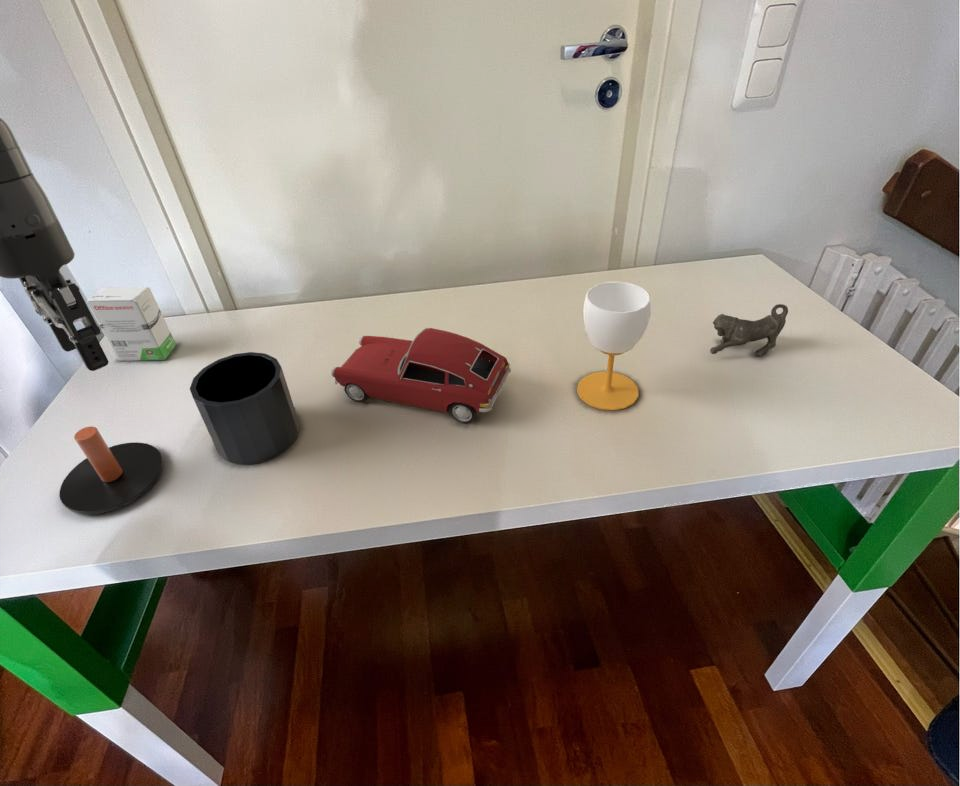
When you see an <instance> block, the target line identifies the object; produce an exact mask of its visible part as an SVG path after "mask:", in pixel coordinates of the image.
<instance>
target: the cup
mask: <svg viewBox="0 0 960 786" xmlns="http://www.w3.org/2000/svg"><path fill="white" fill-rule="evenodd" d="M582 311H583V312H582V313H583V325H584V329H585V330H584V331H585V333H586V336H587V337H588V339H589V341H590V343H591V345H592V346H593V347H594V348H595V349H596V350H598V351H599V352H601V353H602V354H604V355H608V358H607V367H606V371H598V372H591V373H590V374H588V375H586V376H584V377H582V378H581V380H580V381H579V382H578V383H577V390H576V392H577V395H578V396H579V398H580V400H581V401H582V402H584V403H585V404H586V405H588V406H590V407H592V408H595V409H598V410H601V411H613V412H614V411H619V410H625V409H626V408H628V407H630V406H632V405H634V404H635V403H636V402H637V400H638V398H639V394H640V393H639V387H638V386H637V384H636V383H635V381H634V380H632V379H630V378H629V377H627V376H626V375H623V374H620V373H618V372H614V366H615V365H614V362H615V356H621V355H623V354H625V353H628V352H630V351H631V350H633V349H634V348H635V347H636V345H637V344H638V343H639V342H640V340H641V339H642V338H643V336H644V335H645V332H646V330H647V328H648V327H649V322H650V318H651V313H652V312H651V294H649V293H648V291H647V290H646V289H645V288H644V287H641V286H639V285H637V284H635V283H631V282H626V281H614V280H613V281H612V280H611V281H605V282H601V283H598V284H596V285H593V286H591V287H590V288H589V289H588V290H587V291H586V294H585V298H584V302H583V310H582Z"/></svg>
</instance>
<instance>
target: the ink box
mask: <svg viewBox="0 0 960 786" xmlns="http://www.w3.org/2000/svg"><path fill="white" fill-rule="evenodd" d="M86 305H87V307H88V309H89V311H90V312H91V314H92V316H93V318H94V320H95V321H96V323H97V325H98V327H99V328H100V331H102V333H103V336H104V338H106V341H107V343H108V344H109V346H110V348H111V350H112V352H113V354H114V355H115V357H116V359H117V361H118V362H123V361H124V362H125V361H131V362H133V361H164V360H165V361H166V359H167V358H168V357H169V356H170V355H171V353H172V352H173V350H174V349H175V348H176V346H177V343H176V340H175V339H174V337H173V335H172V332H171V330H170V328H169V326H168V323H167V321H166V319H165V317H164V316H163V313H162V311H161V309H160V307H159V305H158V302H157V300H156V298H155V295H154V294H153V291H152V289H151V287H150V286H103V287H101V288H100V289H99V290H97V292H95V293H94V294H93V295H92V296H90V297H89V298H88V299H87V301H86Z"/></svg>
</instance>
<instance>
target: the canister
mask: <svg viewBox="0 0 960 786" xmlns="http://www.w3.org/2000/svg"><path fill="white" fill-rule="evenodd" d="M282 367H283V366H282V365H281V364H280V362H279V361H278V359H277V358H275V357H273V356H272V355H270V354H267V353H263V352H255V351H248V352H239V353H233V354H231V355H227V356H225V357H224V356H223V357H222V358H219V359H217V360H215V361H213V362H212V363H209V364H208V365H206V366H205V367H203V368H202V369H201V370H200V371H199V372H198V373H197V374H196V375H195V376H194V377H193V378H192V381H191V384H190V387H189V391H190V393H191V397H192V399H193V401H194V403H195V406H196V408H197V410H198V412H199V415H200V417H201V419H202V421H203V423H204V425H205V427H206V429H207V432H208V434H209V436H210V439H211V441H212V443H213V445H214V447H215V449H216V452H217V454H218V455H219V456H220V458H222V459H223V460H224V461H226V462H228V463H230V464H234V465H239V466H240V465H242V466H243V465H244V466H248V465H249V466H250V465H255V464H261V463H264V462H267V461H270V460H273V459H275V458H276V457H279V456H280V455H282V454H283V453H285V452H286V451H287V450H288V449H290V448H291V446H293V444H294V443H295V442H296V440H297V438H298V436H299V434H300V421H299V417H298V414H297V411H296V408H295V405H294V401H293V399H292V396H291V393H290V390H289V386H288V383H287V380H286V377H285V373H284V370H283V368H282Z"/></svg>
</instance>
